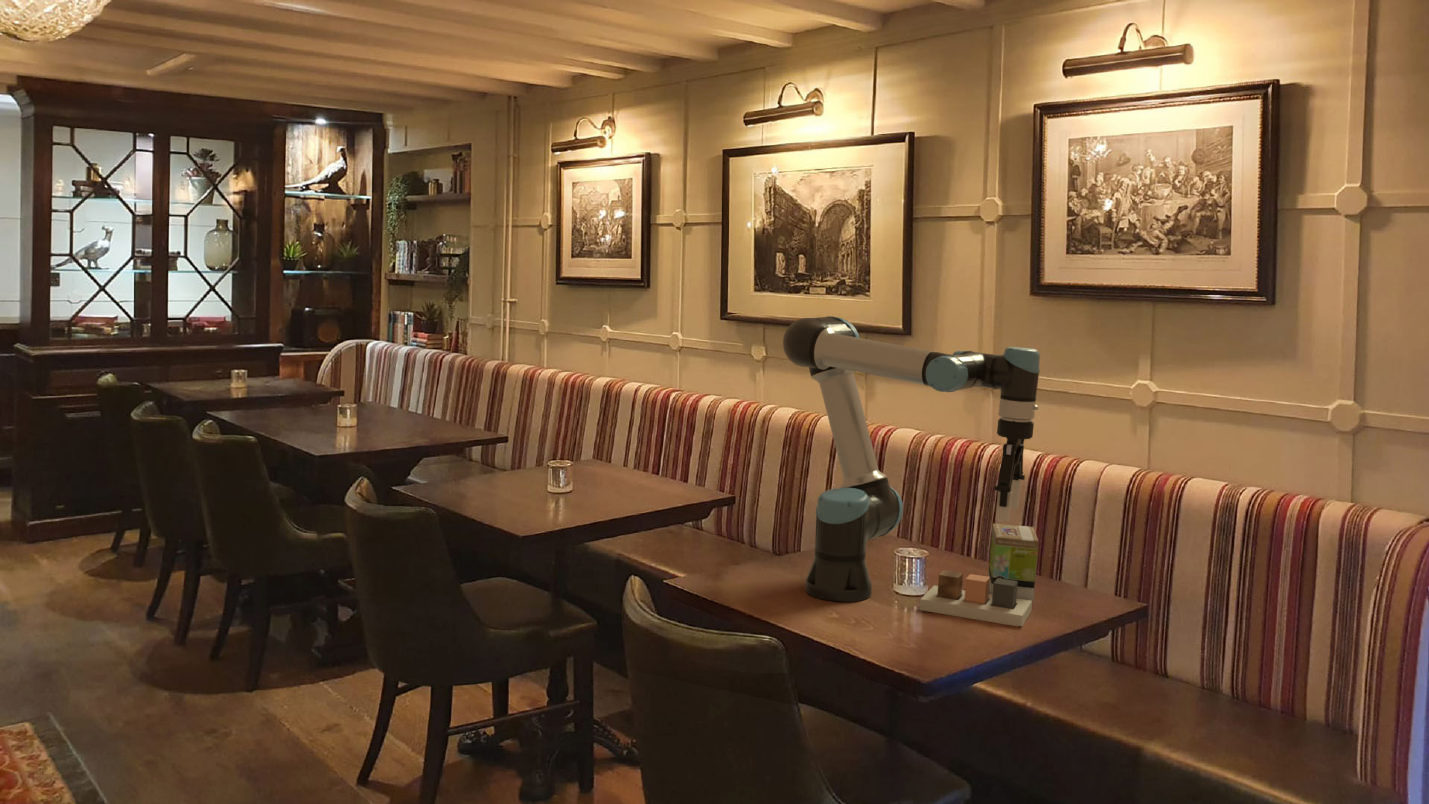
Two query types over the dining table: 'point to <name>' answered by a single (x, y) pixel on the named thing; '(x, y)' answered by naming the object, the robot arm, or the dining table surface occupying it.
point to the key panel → (976, 608)
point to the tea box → (1014, 557)
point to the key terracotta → (977, 589)
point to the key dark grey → (1004, 593)
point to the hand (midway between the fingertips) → (1007, 514)
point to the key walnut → (950, 584)
